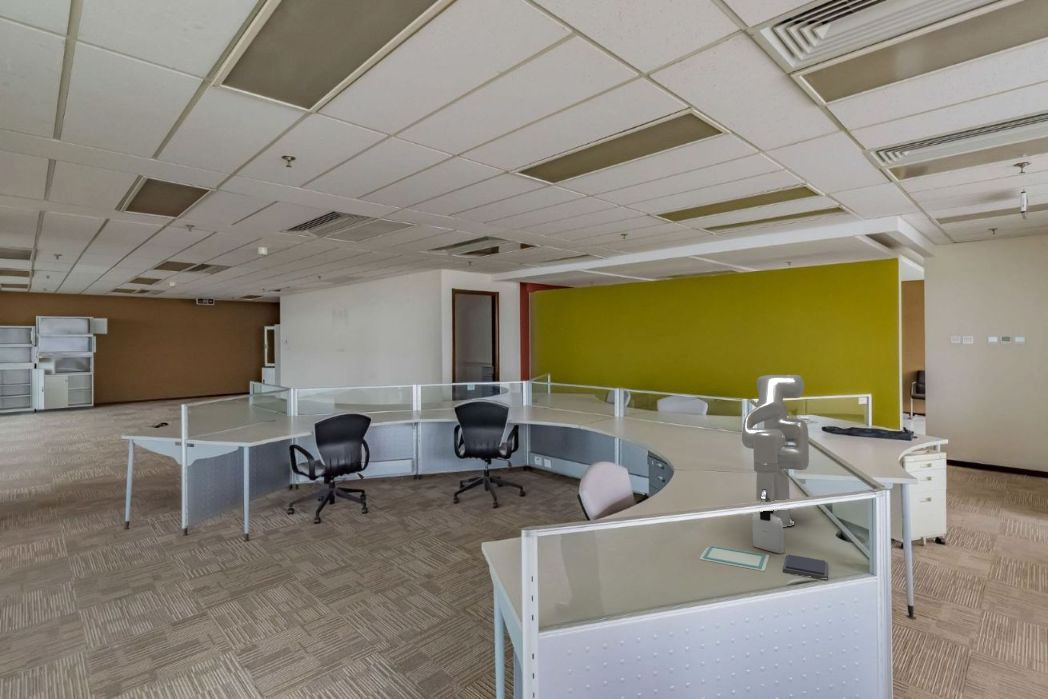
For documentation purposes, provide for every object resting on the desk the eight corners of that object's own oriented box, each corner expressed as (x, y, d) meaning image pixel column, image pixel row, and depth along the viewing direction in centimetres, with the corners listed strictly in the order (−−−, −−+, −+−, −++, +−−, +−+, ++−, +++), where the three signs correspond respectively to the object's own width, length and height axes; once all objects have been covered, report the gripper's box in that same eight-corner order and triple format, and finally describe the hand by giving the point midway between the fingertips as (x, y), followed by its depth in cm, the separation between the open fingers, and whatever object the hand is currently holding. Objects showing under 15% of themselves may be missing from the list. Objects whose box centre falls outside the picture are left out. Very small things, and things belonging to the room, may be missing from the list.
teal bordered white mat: (708, 545, 182) (708, 543, 182) (769, 555, 171) (769, 554, 171) (699, 559, 170) (699, 557, 170) (764, 571, 159) (764, 569, 159)
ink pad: (786, 558, 169) (785, 553, 169) (827, 565, 162) (827, 560, 162) (782, 572, 158) (782, 566, 158) (827, 580, 152) (827, 574, 152)
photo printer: (750, 546, 179) (749, 512, 179) (756, 543, 182) (755, 509, 182) (780, 555, 171) (779, 518, 172) (786, 551, 174) (785, 516, 174)
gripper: (757, 462, 186) (758, 509, 186) (750, 470, 171) (751, 521, 171) (779, 464, 182) (781, 511, 182) (775, 473, 168) (776, 525, 167)
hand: (767, 516), depth 176 cm, fingers open, 9 cm apart
